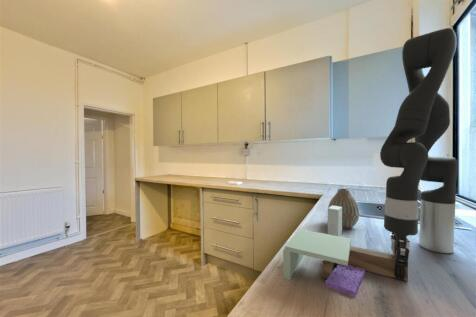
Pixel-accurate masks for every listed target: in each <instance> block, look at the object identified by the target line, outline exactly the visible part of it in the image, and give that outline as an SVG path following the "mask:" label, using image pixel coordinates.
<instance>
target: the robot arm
mask: <svg viewBox="0 0 476 317" xmlns="http://www.w3.org/2000/svg"><path fill="white" fill-rule="evenodd" d="M456 49H457V35H456V32H455V29H453V28H452V27H451V28H450V27H446V28H442V29H438V30H435V31H431V32H428V33H425V34H421V35H418V36H413V37H411V38H408V39H407V40H406V41H405V42H404V44H403V47H402V53H401V55H402V57H401V58H402V64H403V69H404V70H403V71H404V74H405V75H404V76H405V79H406V83H407V87H408V88H407V89H408V93H409V94H408V95H406V97H405V98H404V100H403V101H402V103H401V104H400V107H399V109H398V113H397V116H396V120H395V123H394V127H393V128H392V130H391V131H390V133H389V135H388V136H387V138H386V140H385V141H384V143H383V145H382V146H381V148H380V153H379V158H380V161H381V163H382V164H383V165H384V166H386V167H389V168H397V169H402V172H401V173H400V175H392V176H389V177H388V178H387V179H386V184H385V201H384V210H383V211H384V213H383V228H384V230H386V231H388V232H390V233H391V234H390V241H391V245H390V248H391V252H392V255H394V256H395V261H394V263H395V274H394V275H395V277H396V278H395V279H398V280H402V281H405V280H404V279H405V267H406V268H407V266H408V267H409V254H410V247H411V245H410V244H411V242H410V240H409V237H408V236H416V235H417V234H418V231H419V235H418V236H419V237H418V244H419V246H420V247H421V248H424V249H426V250H428V251H432V252H435V253H440V254H452V253H454V250H455V249H454V247H455V246H454V245H455V225H456V224H455V223H456V222H455V221H456V220H455V219H456V197H457V196H456V195H457V194H456V192H457V179H458V172H459V163H458V160H457V159H456V158H455V157H453V156H429V152H430V151H431V149H432V147H433V146H434V144H435V143H436V142H437V141H438V140H440V139H441V137H442V136H443V135H444V134H445V133H446V132H447V130H448V128H449V127H450V125H451V116H450V115H451V113H450V112H451V111H450V104H449V102H448V101H447V100H446V98H445V97H443V95H442V94H440V93H439V90H440V88H441V87H442V84H443V81H444V80H445V77H446V75H447V73H448V70H449V69H450V66H451V64H452V61H453V59H454V56H455V53H456ZM427 68H430V69H429V70H428V72H427V74H426V75H425V73H424V71H423V70H424V69H427ZM411 139H414V141H413V142H412V141H409V140H411ZM420 181H424V182H430V183H432V182H433V183H442V184H443V185H442V186H440V187H438V188H434V189H428V190H423V191H421V193H420V203H419V202H418V201H419V200H418V198H419V197H418V196H419V185H420ZM419 204H420V205H419ZM419 206H420V207H419ZM419 208H420V210H419ZM419 211H420V212H419ZM418 229H419V230H418ZM398 260H403V261H398Z"/></svg>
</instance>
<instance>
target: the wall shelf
mask: <svg viewBox="0 0 476 317" xmlns="http://www.w3.org/2000/svg"><path fill="white" fill-rule="evenodd" d="M350 246H352V238H349V237H348V238H347V237H344V236H340V237H339V236H334V235H328V233H322V232H315V231H311V230H306V229H301V228H299V229H298V230H297V231H296V232H295V234H294V235H293V236H292V237H291V238H290V240H289V241H288V242H287V243H286V244H285V245H284V248H283V249H282V278H284V279H287V280H291V278H293V275H294V273H295V272H296V270H297V268H298V267H299V265H300V263H301V261H302V260H303V257H304V256H306V257H310V258H314V259H318V260H322V261H323V260H326V261H330V262H334V263H335V264H337V265H338V264H342V265H346V266H348V260H349V253H350Z"/></svg>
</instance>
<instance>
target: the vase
mask: <svg viewBox="0 0 476 317" xmlns="http://www.w3.org/2000/svg"><path fill="white" fill-rule="evenodd" d="M332 205H333V206H339V207H342V230H349V229H352V228H353V227H354V226H356V225H357V223H358V222H359V219H360V208H359V205H358V202H356V199H355V198H354V197H353V196H352V194H351V192H350V189H348V188H338V190H337V193H335V195H334V196H333V197H332V198H331V199H330V201H329V203H328V205H327V206H328V207H327V209H328V208H329V207H331V206H332Z"/></svg>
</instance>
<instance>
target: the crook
mask: <svg viewBox="0 0 476 317" xmlns="http://www.w3.org/2000/svg"><path fill="white" fill-rule="evenodd" d="M394 261H395V256H394V255H392V254H391V253H387V252H382V251H378V250H373V249H367V248H362V247H359V246H358V247H357V246H355V245H354V246H353V245H351V246H350V253H349V260H348V265H351V266H353V267H358V268H362V269H365V272H366V271H367V272H370V273H374V274H375V273H376V274H379V275H382V276H386V277H390V278H395V279H397V278H396V277H395V275H394V274H395V263H394ZM398 261H403V260H398ZM335 264H336V263H334V262H330V261H326V260H322V266H321V267H322V273H321V274H322V278H326V279H328V277H329V276H330V274H331V273H332V272H333V270H334V269H335V268H334V267H335ZM408 276H409V265H408V266H407V268H406V267H405V279H404V280H403V281H407V282H408V281H409V279H408V278H409V277H408Z"/></svg>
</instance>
